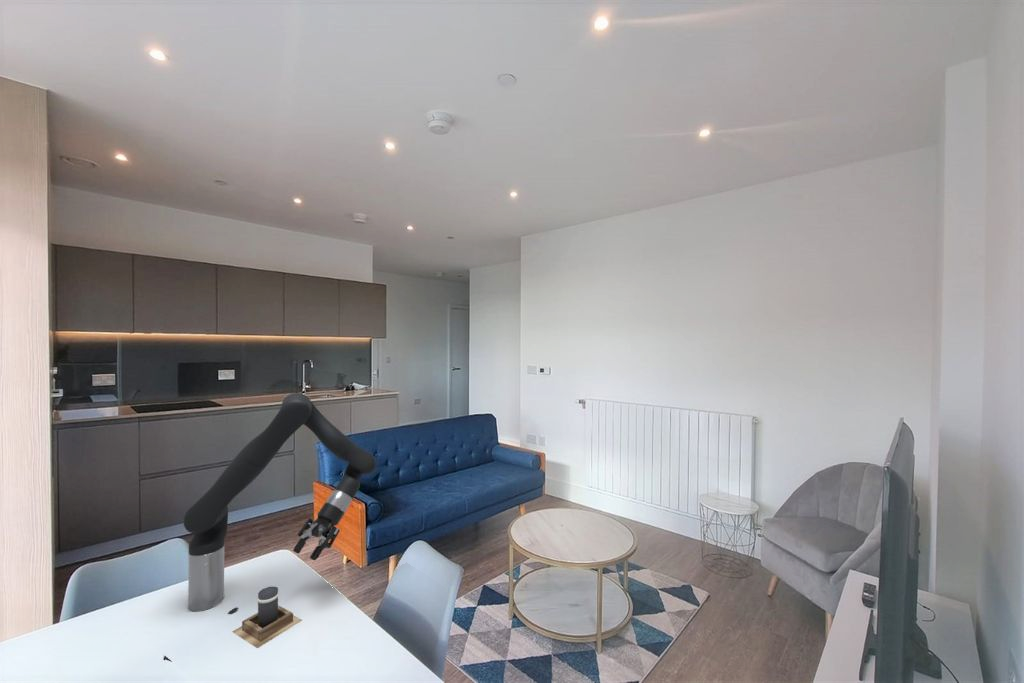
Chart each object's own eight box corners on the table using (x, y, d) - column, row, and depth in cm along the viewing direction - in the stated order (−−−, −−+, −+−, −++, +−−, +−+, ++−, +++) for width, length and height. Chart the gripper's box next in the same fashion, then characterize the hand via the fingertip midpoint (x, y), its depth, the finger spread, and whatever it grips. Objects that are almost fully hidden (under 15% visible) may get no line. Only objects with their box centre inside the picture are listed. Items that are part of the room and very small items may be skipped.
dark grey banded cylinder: (253, 628, 118) (253, 593, 118) (271, 617, 123) (272, 584, 123) (263, 634, 116) (264, 599, 116) (282, 623, 120) (282, 589, 120)
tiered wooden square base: (231, 633, 117) (232, 622, 117) (276, 608, 128) (277, 598, 128) (257, 650, 110) (257, 638, 111) (302, 622, 122) (302, 611, 122)
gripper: (315, 498, 140) (282, 545, 130) (342, 506, 133) (310, 557, 123) (328, 508, 145) (297, 554, 135) (355, 516, 138) (325, 566, 128)
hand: (303, 555), depth 129 cm, fingers open, 8 cm apart
